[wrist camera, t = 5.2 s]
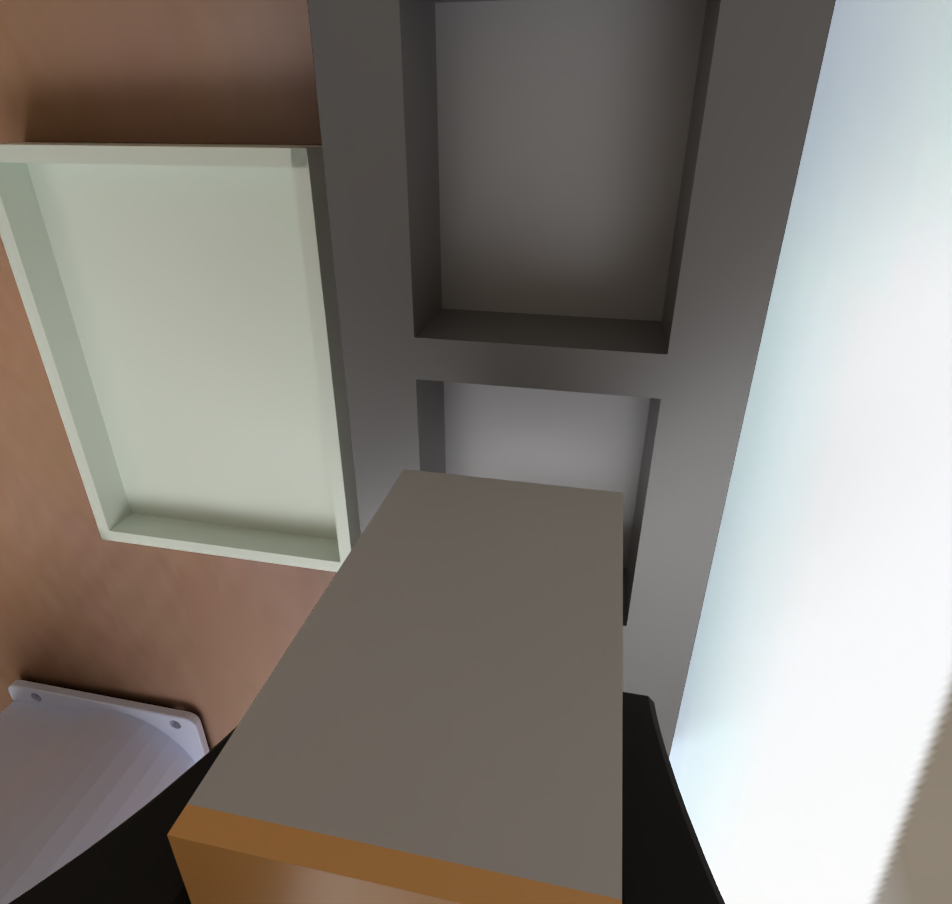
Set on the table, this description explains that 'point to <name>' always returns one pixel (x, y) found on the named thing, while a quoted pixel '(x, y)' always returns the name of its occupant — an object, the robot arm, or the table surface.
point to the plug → (435, 716)
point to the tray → (191, 340)
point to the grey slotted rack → (566, 256)
